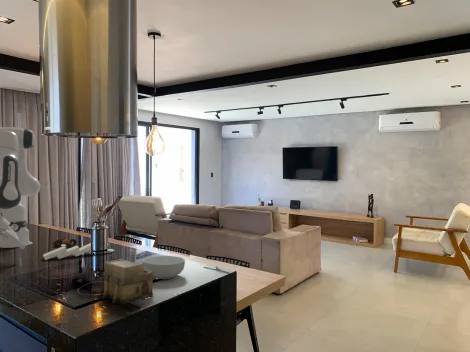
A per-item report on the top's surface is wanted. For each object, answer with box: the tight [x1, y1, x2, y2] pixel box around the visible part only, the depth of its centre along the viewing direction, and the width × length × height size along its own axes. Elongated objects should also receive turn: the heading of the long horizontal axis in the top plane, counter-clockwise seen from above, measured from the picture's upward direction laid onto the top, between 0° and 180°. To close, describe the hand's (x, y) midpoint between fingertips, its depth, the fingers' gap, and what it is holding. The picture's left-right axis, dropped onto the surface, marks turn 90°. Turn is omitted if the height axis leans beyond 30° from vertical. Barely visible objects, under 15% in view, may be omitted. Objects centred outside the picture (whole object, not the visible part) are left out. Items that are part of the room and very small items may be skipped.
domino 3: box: [72, 242, 91, 257], centre depth 181 cm, size 2×5×10 cm
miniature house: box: [102, 258, 155, 305], centre depth 120 cm, size 15×14×11 cm
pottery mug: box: [52, 237, 78, 250], centre depth 192 cm, size 12×10×8 cm
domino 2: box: [56, 245, 80, 260], centre depth 176 cm, size 2×5×10 cm
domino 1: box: [42, 245, 67, 261], centre depth 173 cm, size 2×5×10 cm
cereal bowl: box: [142, 255, 186, 280], centre depth 143 cm, size 17×17×7 cm
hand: (24, 247), depth 165 cm, fingers closed
